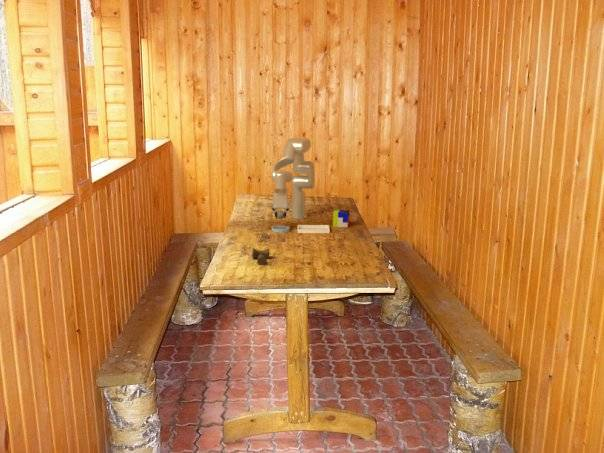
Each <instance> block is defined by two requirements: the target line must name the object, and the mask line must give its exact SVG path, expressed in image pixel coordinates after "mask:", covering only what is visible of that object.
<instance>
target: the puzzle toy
mask: <svg viewBox="0 0 604 453" xmlns="http://www.w3.org/2000/svg"><path fill="white" fill-rule="evenodd" d="M349 225H350V210H347V209H335V210H334V211H333V213H332V227H335V228H348V227H349Z"/></svg>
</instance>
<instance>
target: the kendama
mask: <svg viewBox="0 0 604 453" xmlns="http://www.w3.org/2000/svg"><path fill="white" fill-rule="evenodd" d="M251 252H252V254H251V256H252V260H255V259H256V262H257V264H258V265H259V266H264V265H266V264H267V261H268V260H267V259H270V249H269V248H266V249H264V250H261V249H260V250H258V249H256V248H252V251H251Z"/></svg>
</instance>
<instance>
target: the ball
mask: <svg viewBox="0 0 604 453" xmlns="http://www.w3.org/2000/svg"><path fill="white" fill-rule="evenodd" d="M277 218H278V219H279V220H280V219H284V211H281V210H280V211H277Z"/></svg>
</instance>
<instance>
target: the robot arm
mask: <svg viewBox="0 0 604 453" xmlns="http://www.w3.org/2000/svg"><path fill="white" fill-rule="evenodd" d="M311 146H312V145H311V140H310V139H309V138H297V137H294V138H291V137H290V138H288V139H287V140H286V142H285V146H284V150H283V154H282V156H281V158H279V159H278V160H277V161H276V162H275V164H274V165H273V167H272V170H271V175H270V176H271V180H272V181H273V182H274V192H273V195H272V196H273V197H272V203H271V204H270V206H269V209H270V210H272V211H273V212H274V217H275V219H277V218H278V217H277V213H278V211H277V210H278V209H283V210H284V211H283V213H284V217H283V219H286V217H287V212H288V211H289V210H290V209H291V215H289V217H290V219H293V220H304V219H307V218H308V216H307V214H306V194H305V193H306V192H305V191H304V190H303V189H306V190H307V189H308V190H309V189H313V188H314V187H315V182H316V180H315V171H316V170H315V163H314V162H313V161H311V160H305V153H307V152H308V151H310V149H311ZM289 165H292V172H293V173H294V174H296V175H293V173H292V172H291V171H289V170H280V169H282V168H285V167H287V166H289ZM298 174H299V175H298ZM287 183H290V184H291V185H290V186H291V204H290V203H289V195H288V192H289V189H287Z"/></svg>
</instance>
